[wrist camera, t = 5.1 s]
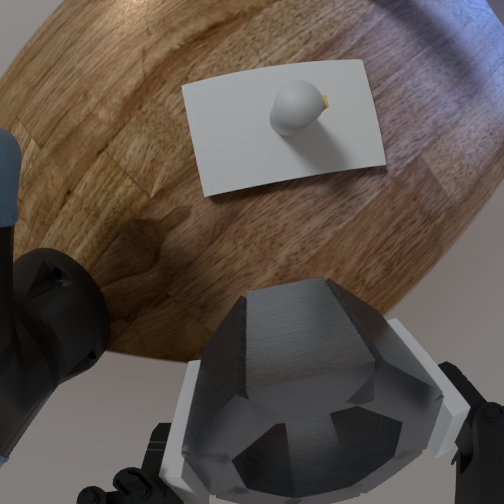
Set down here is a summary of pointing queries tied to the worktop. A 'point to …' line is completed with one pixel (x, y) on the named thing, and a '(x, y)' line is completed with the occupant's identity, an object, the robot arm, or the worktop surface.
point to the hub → (306, 399)
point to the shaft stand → (282, 124)
